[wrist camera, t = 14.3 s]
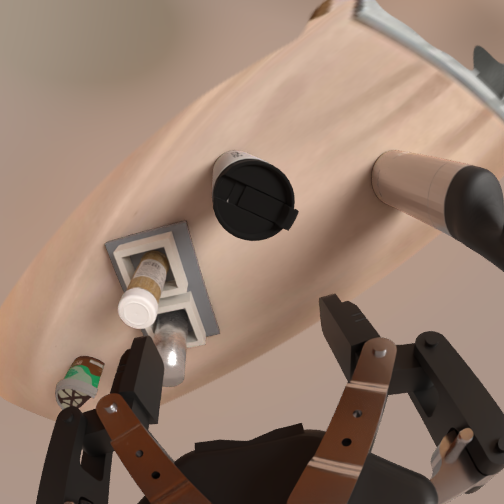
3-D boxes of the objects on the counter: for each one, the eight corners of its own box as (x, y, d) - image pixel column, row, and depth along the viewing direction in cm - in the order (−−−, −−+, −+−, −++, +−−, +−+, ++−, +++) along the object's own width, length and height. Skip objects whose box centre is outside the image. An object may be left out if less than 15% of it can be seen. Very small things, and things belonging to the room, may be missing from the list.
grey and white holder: (186, 220, 41) (183, 228, 38) (219, 330, 49) (220, 345, 45) (106, 241, 41) (98, 251, 37) (150, 343, 49) (147, 358, 45)
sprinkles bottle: (136, 267, 42) (111, 317, 29) (149, 243, 41) (125, 288, 28) (161, 282, 43) (145, 337, 31) (175, 259, 42) (163, 309, 30)
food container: (83, 341, 47) (66, 376, 38) (108, 360, 49) (95, 397, 40) (60, 367, 49) (45, 400, 40) (82, 384, 51) (70, 417, 42)
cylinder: (183, 302, 45) (176, 358, 33) (192, 327, 47) (189, 384, 35) (154, 308, 45) (140, 363, 33) (165, 332, 47) (155, 388, 35)
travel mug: (248, 202, 41) (277, 257, 23) (205, 183, 40) (198, 224, 21) (267, 162, 40) (314, 185, 21) (224, 142, 38) (234, 146, 19)
